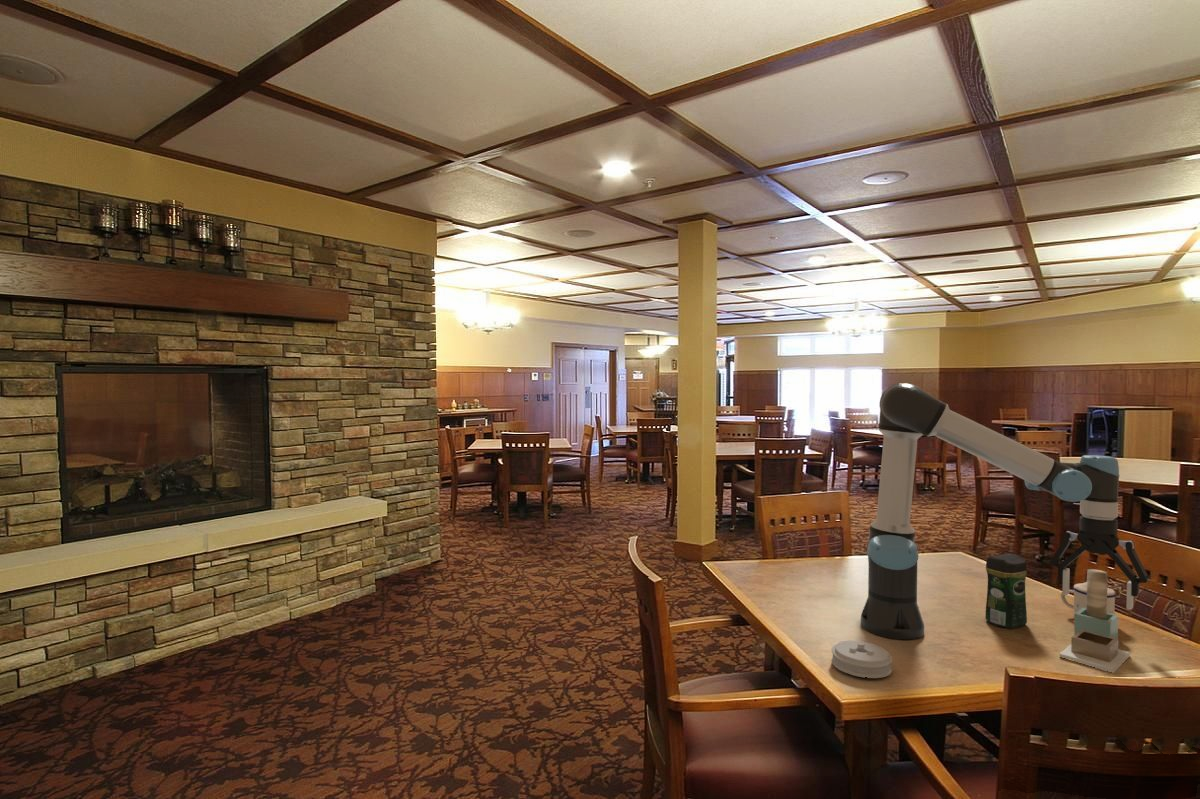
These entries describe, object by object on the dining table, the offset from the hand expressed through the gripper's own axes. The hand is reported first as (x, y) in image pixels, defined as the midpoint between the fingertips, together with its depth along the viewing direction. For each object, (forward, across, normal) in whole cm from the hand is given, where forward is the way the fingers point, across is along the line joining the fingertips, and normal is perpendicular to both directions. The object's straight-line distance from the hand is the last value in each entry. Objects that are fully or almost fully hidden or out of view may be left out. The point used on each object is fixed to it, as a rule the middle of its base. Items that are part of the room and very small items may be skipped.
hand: (1096, 601), depth 157 cm
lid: (+10, +28, +63) cm, 70 cm away
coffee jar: (+10, +18, +7) cm, 22 cm away
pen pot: (+9, 0, 0) cm, 9 cm away
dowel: (+9, 0, 0) cm, 9 cm away
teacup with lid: (+10, +5, -13) cm, 17 cm away
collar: (+9, -3, +14) cm, 17 cm away
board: (+9, -3, +14) cm, 17 cm away
